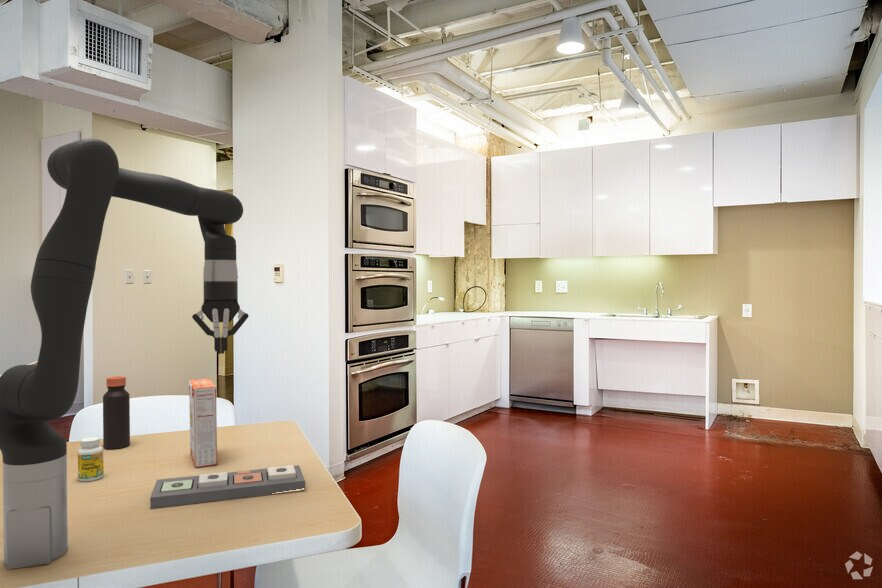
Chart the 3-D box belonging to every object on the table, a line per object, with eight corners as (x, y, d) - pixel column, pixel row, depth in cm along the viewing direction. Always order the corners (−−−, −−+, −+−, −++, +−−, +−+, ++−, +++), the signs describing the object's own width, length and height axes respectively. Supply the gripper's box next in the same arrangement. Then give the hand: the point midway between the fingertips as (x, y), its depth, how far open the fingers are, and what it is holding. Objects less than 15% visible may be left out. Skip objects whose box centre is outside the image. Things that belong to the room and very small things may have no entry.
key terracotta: (262, 488, 135) (262, 479, 135) (234, 491, 133) (234, 482, 133) (260, 479, 141) (260, 471, 140) (234, 482, 139) (234, 474, 138)
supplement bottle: (102, 473, 147) (102, 435, 147) (104, 479, 143) (104, 439, 142) (77, 477, 144) (77, 438, 144) (78, 483, 140) (77, 443, 140)
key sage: (191, 496, 130) (191, 487, 130) (161, 499, 128) (160, 490, 128) (192, 487, 135) (192, 478, 135) (163, 490, 133) (163, 481, 133)
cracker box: (188, 454, 163) (188, 379, 163) (211, 451, 166) (211, 377, 166) (192, 468, 151) (192, 387, 150) (217, 465, 154) (217, 385, 153)
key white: (227, 487, 132) (227, 479, 132) (198, 491, 130) (198, 482, 130) (227, 479, 138) (227, 470, 138) (199, 482, 136) (199, 473, 136)
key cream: (295, 480, 137) (295, 471, 137) (268, 483, 135) (268, 474, 135) (293, 472, 143) (293, 464, 143) (267, 475, 141) (267, 467, 141)
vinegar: (112, 443, 175) (111, 375, 174) (134, 443, 174) (134, 375, 174) (98, 449, 168) (97, 379, 167) (121, 449, 168) (120, 379, 167)
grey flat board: (305, 490, 135) (304, 480, 135) (150, 508, 124) (150, 497, 124) (299, 474, 147) (299, 464, 146) (156, 489, 136) (156, 479, 136)
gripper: (189, 279, 133) (189, 356, 133) (250, 279, 137) (251, 354, 138) (191, 279, 140) (191, 352, 140) (249, 279, 144) (250, 350, 145)
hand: (221, 353), depth 139 cm, fingers closed
